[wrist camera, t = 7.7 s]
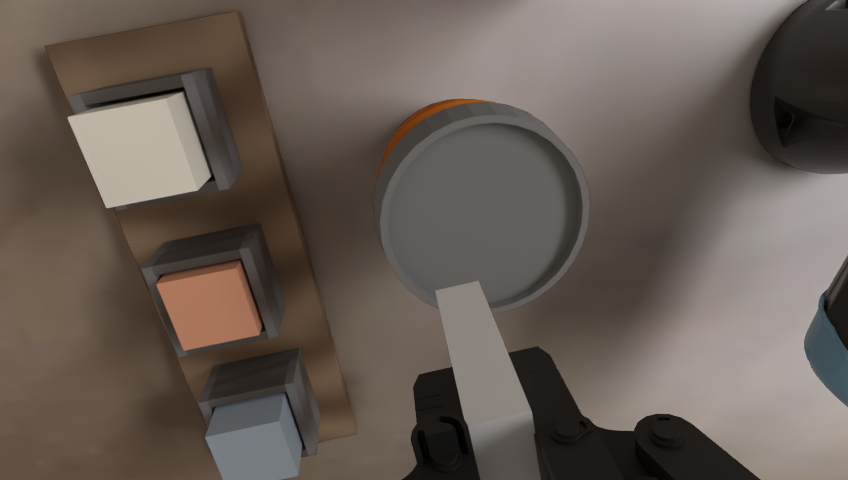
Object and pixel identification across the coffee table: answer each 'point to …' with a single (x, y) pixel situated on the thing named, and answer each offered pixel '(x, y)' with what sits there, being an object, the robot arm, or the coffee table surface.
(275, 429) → the slate button
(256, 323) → the terracotta button
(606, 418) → the coffee table surface
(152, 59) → the console
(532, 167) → the reusable coffee cup
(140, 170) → the cream button
